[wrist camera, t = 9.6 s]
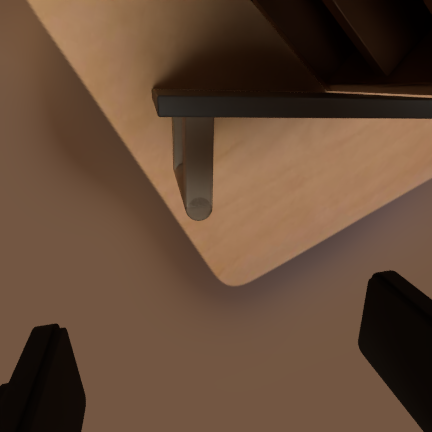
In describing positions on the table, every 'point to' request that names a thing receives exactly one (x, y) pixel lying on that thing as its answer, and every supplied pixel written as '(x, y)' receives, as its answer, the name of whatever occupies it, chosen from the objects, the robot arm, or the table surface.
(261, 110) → the door
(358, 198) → the table surface
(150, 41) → the table surface
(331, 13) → the cabinet
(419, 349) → the robot arm
